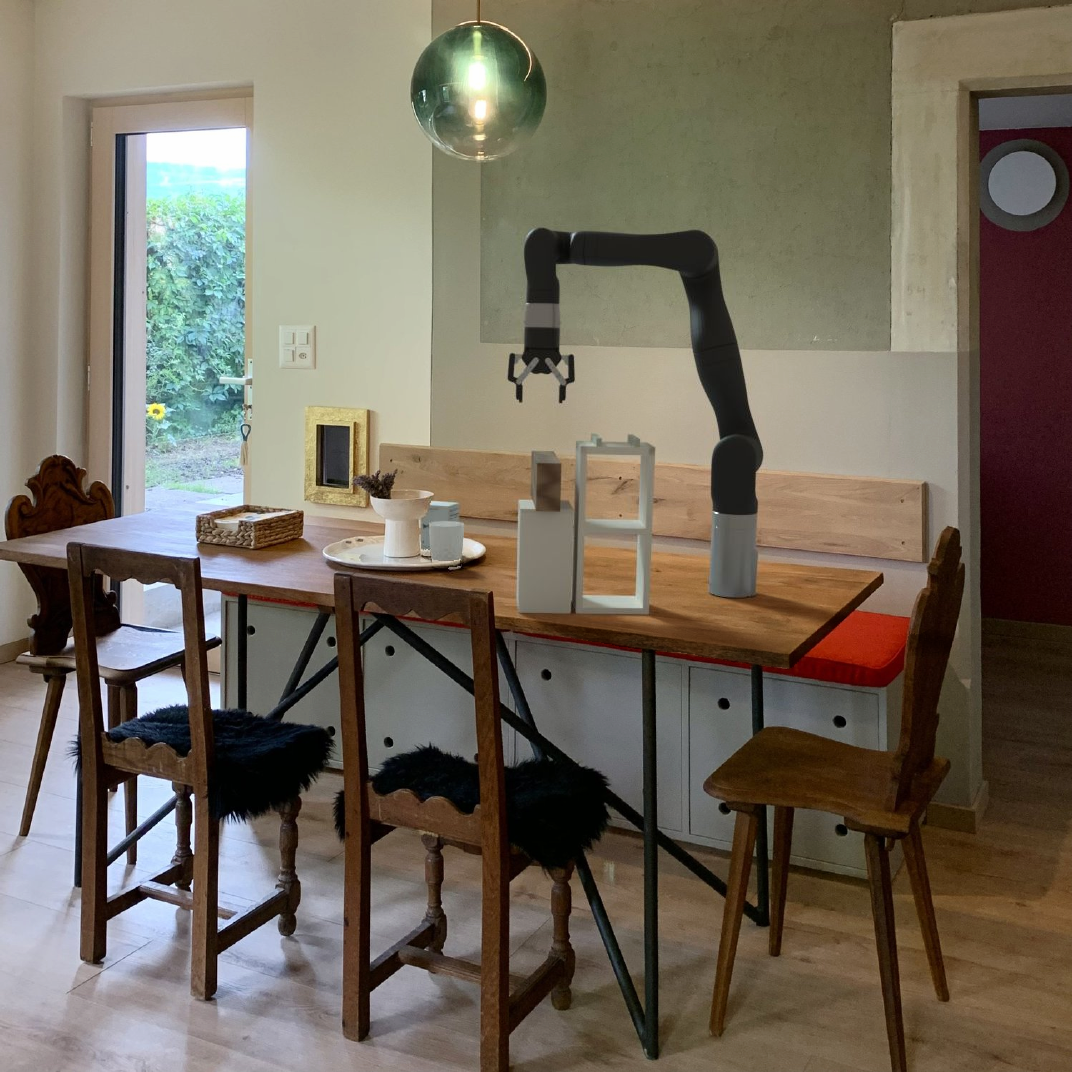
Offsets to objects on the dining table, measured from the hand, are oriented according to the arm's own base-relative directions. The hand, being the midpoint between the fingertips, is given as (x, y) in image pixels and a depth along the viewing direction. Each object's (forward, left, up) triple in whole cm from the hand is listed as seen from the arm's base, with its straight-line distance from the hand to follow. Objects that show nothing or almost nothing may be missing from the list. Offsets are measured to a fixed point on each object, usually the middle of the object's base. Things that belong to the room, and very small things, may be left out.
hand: (540, 402), depth 255 cm
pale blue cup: (+20, -11, -38) cm, 45 cm away
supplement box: (+22, -26, -38) cm, 51 cm away
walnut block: (0, +25, -18) cm, 31 cm away
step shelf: (-7, +27, -38) cm, 48 cm away
